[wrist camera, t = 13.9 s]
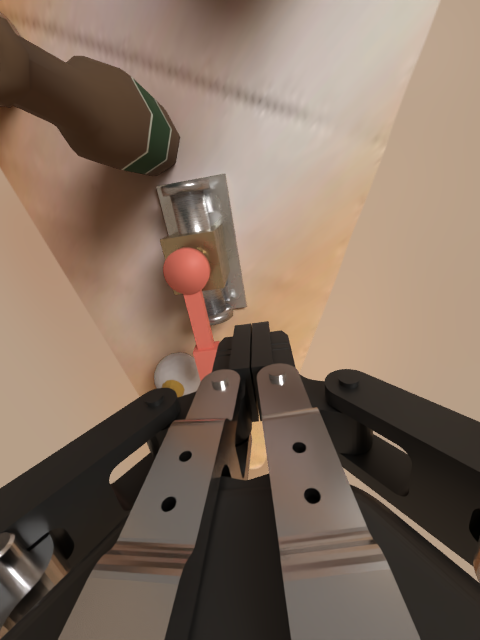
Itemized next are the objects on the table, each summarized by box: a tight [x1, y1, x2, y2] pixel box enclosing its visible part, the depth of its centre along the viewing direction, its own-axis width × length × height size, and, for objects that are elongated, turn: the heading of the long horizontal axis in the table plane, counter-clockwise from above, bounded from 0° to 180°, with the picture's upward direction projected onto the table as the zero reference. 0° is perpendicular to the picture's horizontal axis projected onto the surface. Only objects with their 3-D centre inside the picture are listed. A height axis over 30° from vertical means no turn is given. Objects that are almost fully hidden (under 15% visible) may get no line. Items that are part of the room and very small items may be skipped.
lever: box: [163, 247, 219, 381], centre depth 31 cm, size 15×5×2 cm, turn 10°
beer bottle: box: [0, 17, 180, 176], centre depth 24 cm, size 8×8×24 cm
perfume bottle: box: [154, 352, 201, 397], centre depth 43 cm, size 8×10×12 cm
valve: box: [156, 174, 247, 325], centre depth 35 cm, size 9×18×11 cm, turn 9°
